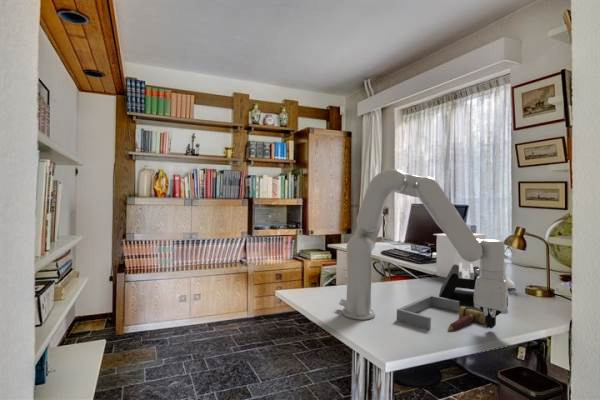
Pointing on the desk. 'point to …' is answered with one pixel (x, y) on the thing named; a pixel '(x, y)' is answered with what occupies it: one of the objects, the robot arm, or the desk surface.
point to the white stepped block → (450, 255)
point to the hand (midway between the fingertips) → (490, 326)
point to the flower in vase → (508, 281)
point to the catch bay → (411, 310)
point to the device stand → (460, 284)
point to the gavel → (467, 318)
